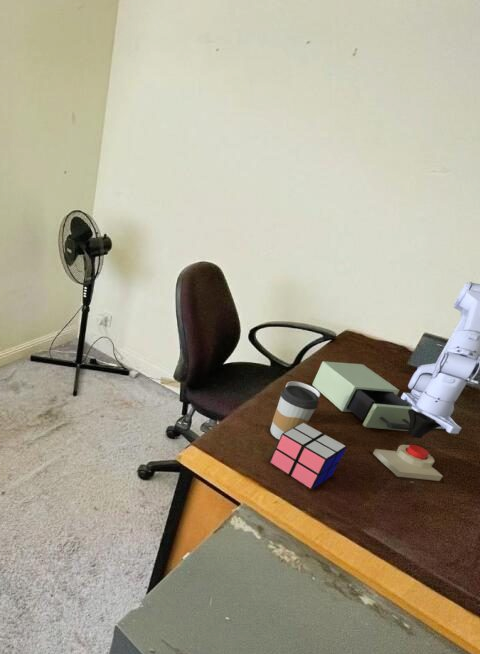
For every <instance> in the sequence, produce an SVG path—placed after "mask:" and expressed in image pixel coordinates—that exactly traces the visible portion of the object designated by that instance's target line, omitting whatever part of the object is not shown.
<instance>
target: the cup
mask: <svg viewBox="0 0 480 654" xmlns="http://www.w3.org/2000/svg"><path fill="white" fill-rule="evenodd" d="M290 385H294V386H299V387H303V388H306V389H308V390H310V391H312V392H313V393H315V394H316V395H317V396H318V399H319V398H320V396H321V392H320V391H319V390H318V389H316V388H315V387H314V386H313V385H310V384H307V383H304V382H301V381H294V380H293V381H288V382H286V384H285V387H284V388H286V387H287V386H290Z"/></svg>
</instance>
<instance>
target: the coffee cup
mask: <svg viewBox="0 0 480 654" xmlns="http://www.w3.org/2000/svg"><path fill="white" fill-rule="evenodd" d="M285 387H286V386H285ZM285 387H284V388H283V389H282V390H281V392H280V397H279V401H278V404H277V406H276V408H275V412H274V414H273V418H272V423H271V426H270V429H269V430H270V434H271V435H272V437H274V438H275V439H277V440H279V439H280V437H281V435H282V433H284V432H286V431H288V430H290V429H292V428H293V427H295V426H297V425H299V424H301V423H304V424H306V425H308V423H309V421H310V419H311V417H312V415H313V414H314V412H315V411H316V409H317V408H318V406H319V402H320V401H319V398H318V396H317V395H316V394H315V393H313V392H312V391H310V390H308V389H306V388H303V387H299V386H294V385H290V386H287V387H286V388H285Z"/></svg>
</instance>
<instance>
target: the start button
mask: <svg viewBox="0 0 480 654" xmlns="http://www.w3.org/2000/svg"><path fill="white" fill-rule="evenodd" d="M409 445H410V446H409V447H408V449H407V453H409V454H410V455H412V456H414V457H416V458H419V459H422V460H425V459H426V457H427V456H428V454H429V455H430V452H429V451H428V450H426V449H425V448H424V447H421V446H419V445H416V444H409Z"/></svg>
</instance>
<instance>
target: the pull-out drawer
mask: <svg viewBox="0 0 480 654" xmlns="http://www.w3.org/2000/svg"><path fill="white" fill-rule="evenodd" d="M405 401H406V400H403V399H401V396H399V395H398V394H397V395H395V394H394V393H393V392H388V391H376V390H364V389H356V391H355V393H354V395H353V397H352V399H351V400H350V402H349V404H348V406H347V408H348V409H349V410H350V411H351V412H350V413H352V414H353V415H354V416H356V417H357V418H358V419H359V420H360V421H361V422H363V423H362V426H363V427H365V428H373V429H381V430H382V429H383V430H391V431H403V432H405V431H406V432H409V428H410V418H409V414H408V410H409V409H412V408H411V407H408V406H409V404H408V403H407V402H405Z"/></svg>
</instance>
